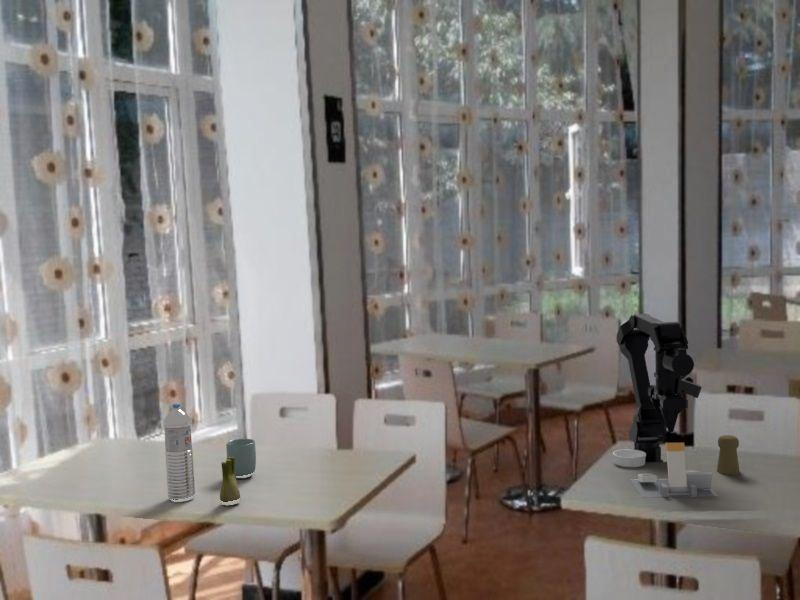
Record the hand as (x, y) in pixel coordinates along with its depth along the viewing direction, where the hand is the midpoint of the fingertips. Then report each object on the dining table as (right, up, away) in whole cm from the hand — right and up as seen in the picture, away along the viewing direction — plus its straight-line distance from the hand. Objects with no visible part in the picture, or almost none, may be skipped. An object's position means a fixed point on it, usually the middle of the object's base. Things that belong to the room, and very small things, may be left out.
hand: (667, 428), depth 232 cm
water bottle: (-127, -18, -4) cm, 128 cm away
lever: (-3, -12, -18) cm, 22 cm away
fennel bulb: (-113, -18, -9) cm, 115 cm away
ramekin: (-7, -13, +11) cm, 18 cm away
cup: (-114, -16, +14) cm, 116 cm away
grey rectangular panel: (+3, -12, -15) cm, 19 cm away
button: (+3, -12, -10) cm, 16 cm away
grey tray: (-2, -14, -12) cm, 19 cm away
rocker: (-8, -11, -9) cm, 17 cm away
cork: (+16, -13, 0) cm, 20 cm away
